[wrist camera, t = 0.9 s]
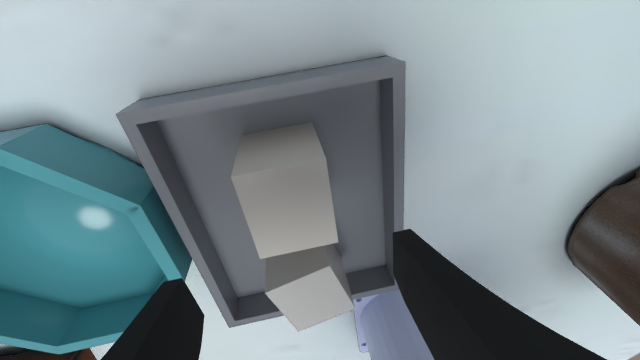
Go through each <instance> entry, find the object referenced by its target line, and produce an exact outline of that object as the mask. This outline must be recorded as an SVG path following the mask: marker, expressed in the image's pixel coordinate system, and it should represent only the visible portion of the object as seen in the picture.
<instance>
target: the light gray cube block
mask: <svg viewBox="0 0 640 360" xmlns="http://www.w3.org/2000/svg"><path fill="white" fill-rule="evenodd" d="M265 294H266V295H267V296H268V297H269V298H270V300H271V301H272V302H273V303H274V304H275V305H276V306H277V308H278V309H279V310H280V311H281V312H282V313H283V315H284V316H285V317H286V318H287V319H288V320H289V321H290V323H291V324H292V325H293V326H294V327H295V328H296V329H297V331H298V332H299V331H301V330H304V329H306V328H309V327H311V326H313V325H316V324H318V323H321V322H323V321H326V320H328V319H331V318H333V317H336V316H338V315H341V314H343V313H346V312H348V311H351V310H353V309H355V305H354V302H353V298H352V295H351V291H350V288H349V284H348V281H347V277H346V274H345V270H344V267H343V263H342V260H341V257H340V255H339V253H338V252H337V250H336V248H335V246H334V245H333V244H329V245H324V246H319V247H315V248H310V249H305V250H300V251H296V252H291V253H286V254H282V255H277V256H272V257H268V258H266V269H265Z"/></svg>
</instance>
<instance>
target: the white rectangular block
mask: <svg viewBox="0 0 640 360" xmlns="http://www.w3.org/2000/svg"><path fill="white" fill-rule="evenodd" d="M231 179H232V182H233V185H234V187H235V190H236V193H237V196H238V199H239V201H240V204H241V207H242V210H243V213H244V215H245V218H246V221H247V224H248V227H249V229H250V232H251V235H252V238H253V241H254V243H255V246H256V249H257V252H258V255H259V257H260V259H263V258H268V257H272V256H277V255H282V254H286V253H291V252H296V251H300V250H305V249H310V248H315V247H319V246H324V245H329V244H333V243H338V236H337V229H336V223H335V216H334V209H333V202H332V196H331V189H330V182H329V175H328V168H327V162H326V157H325V154H324V152H323V149H322V147H321V144H320V141H319V139H318V136H317V134H316V131H315V128H314V126H313V123H312V122H309V123H304V124H299V125H293V126H288V127H283V128H277V129H272V130H267V131H262V132H256V133H251V134H246V135H242V136H241V140H240V143H239V147H238V151H237V155H236V159H235V163H234V167H233V171H232V174H231Z"/></svg>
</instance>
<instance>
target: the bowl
mask: <svg viewBox="0 0 640 360" xmlns="http://www.w3.org/2000/svg"><path fill="white" fill-rule="evenodd" d="M191 261H192V257H191V255H190V253H189V251H188V249H187V248H186V246H185V244H184V242H183V240H182V238H181V236H180V234H179V233H178V231H177V229H176V227H175V225H174V223H173V221H172V219H171V217H170V216H169V214H168V212H167V210H166V208H165V206H164V204H163V202H162V201H161V199H160V197H159V195H158V193H157V191H156V189H155V187H154V185H153V184H152V182H151V180H150V178H149V176H148V174H147V172H146V170H145V169H144V168H142V167H140V166H138V165H137V164H135V163H134V162H132V161H131V160H129V159H128V158H126V157H124V156H122V155H120V154H118V153H116V152H114V151H112V150H110V149H108V148H105V147H103V146H100V145H98V144H96V143H93V142H90V141H87V140H83V139H80V138H77V137H74V136H72V135H70V134H68V133H66V132H63V131H61V130H59V129H57V128H55V127H52V126H50V125H48V124H43V125H37V126H32V127H26V128H21V129H15V130H8V131H0V344H5V345H10V346H16V347H21V348H27V349H32V350H38V351H43V352H49V353H54V354H63V353H68V352H72V351H77V350H81V349H86V348H90V347H95V346H99V345H104V344H108V343H113V342H116V341H117V339H118V338H119V337H120V336H121V334H122V333H123V332H124V331H125V329H126V328H127V327H128V326H129V324H130V323H131V322H132V321H133V319H134V318H135V317H136V316H137V314H138V313H139V312H140V311H141V309H142V308H143V307H144V306H145V304H146V303H147V302H148V300H149V299H150V298H151V297H152V295H153V294H154V293H155V292H156V290H157V289H158V288H159V287H160V286H161V284H162V283H163V282H165V281H170V280H174V279H179V278H183V280H184V282H185V279H186V276H187V273H188V270H189V267H190V264H191Z"/></svg>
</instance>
